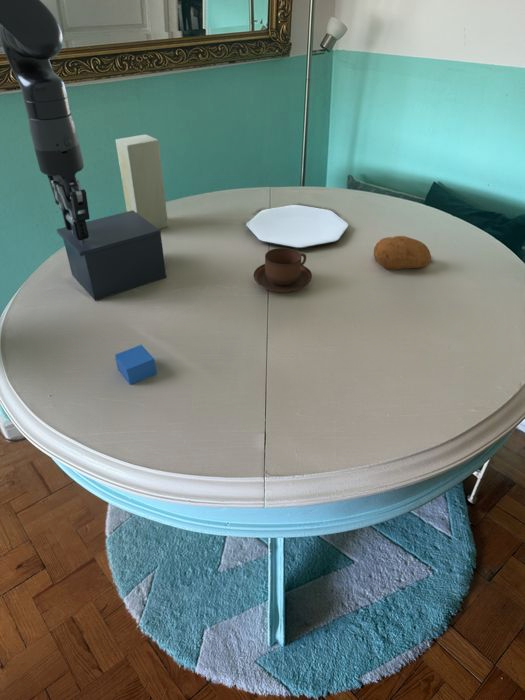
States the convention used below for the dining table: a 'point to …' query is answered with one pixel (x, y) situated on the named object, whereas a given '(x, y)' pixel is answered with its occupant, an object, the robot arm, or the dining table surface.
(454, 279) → the dining table surface
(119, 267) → the box
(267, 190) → the dining table surface
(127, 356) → the blue cube
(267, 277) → the cup and saucer
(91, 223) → the freezer lid
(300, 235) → the plate
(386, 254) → the potato
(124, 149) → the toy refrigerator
